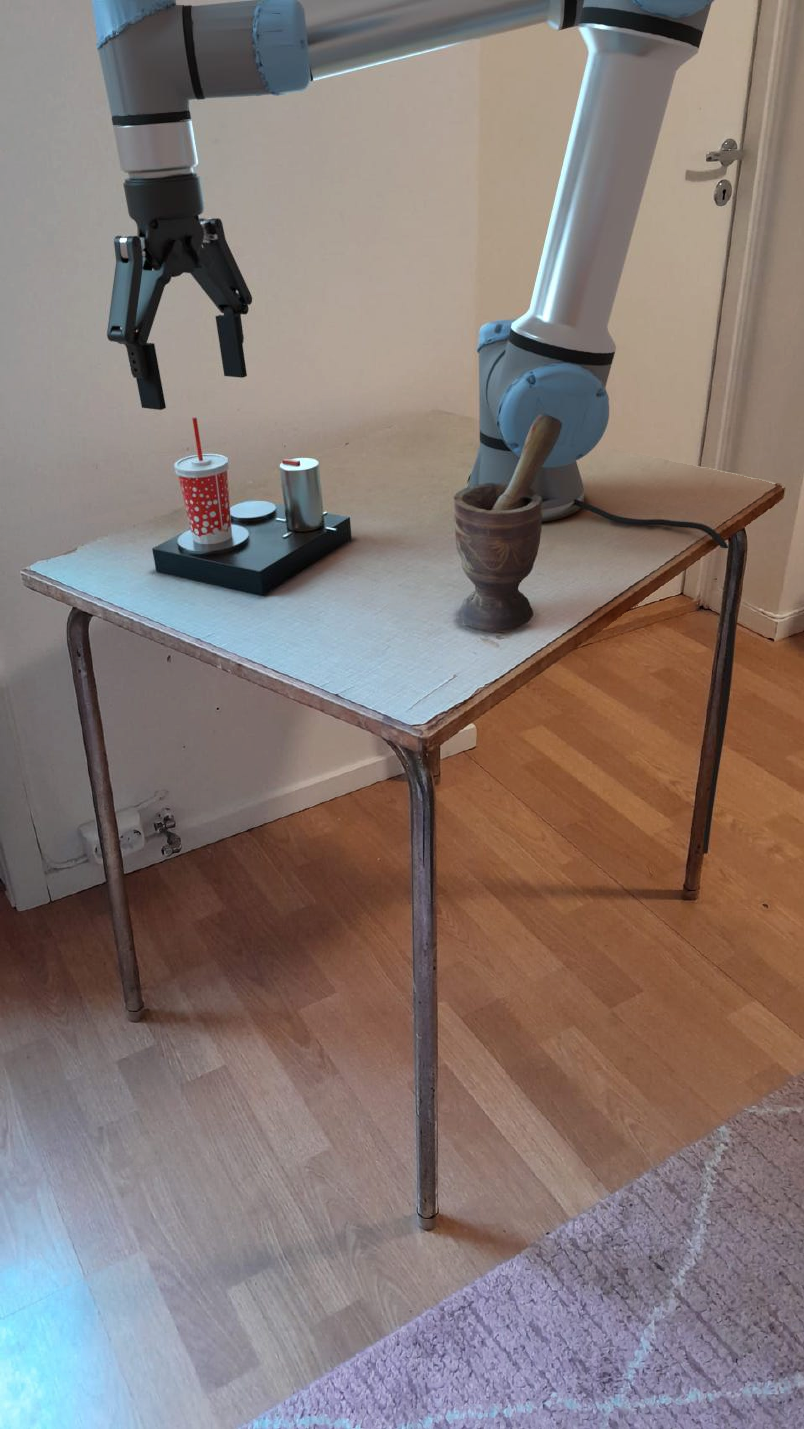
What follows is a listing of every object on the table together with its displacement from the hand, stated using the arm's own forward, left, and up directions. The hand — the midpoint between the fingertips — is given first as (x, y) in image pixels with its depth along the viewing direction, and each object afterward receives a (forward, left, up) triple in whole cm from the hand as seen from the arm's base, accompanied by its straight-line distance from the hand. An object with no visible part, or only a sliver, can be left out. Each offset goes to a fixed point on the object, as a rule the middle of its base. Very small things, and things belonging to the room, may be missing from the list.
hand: (196, 391), depth 114 cm
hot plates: (+1, -4, -17) cm, 18 cm away
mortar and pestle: (-36, -3, -21) cm, 42 cm away
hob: (-2, -4, -20) cm, 21 cm away
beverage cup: (+1, 0, -17) cm, 17 cm away
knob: (-7, -8, -17) cm, 20 cm away
